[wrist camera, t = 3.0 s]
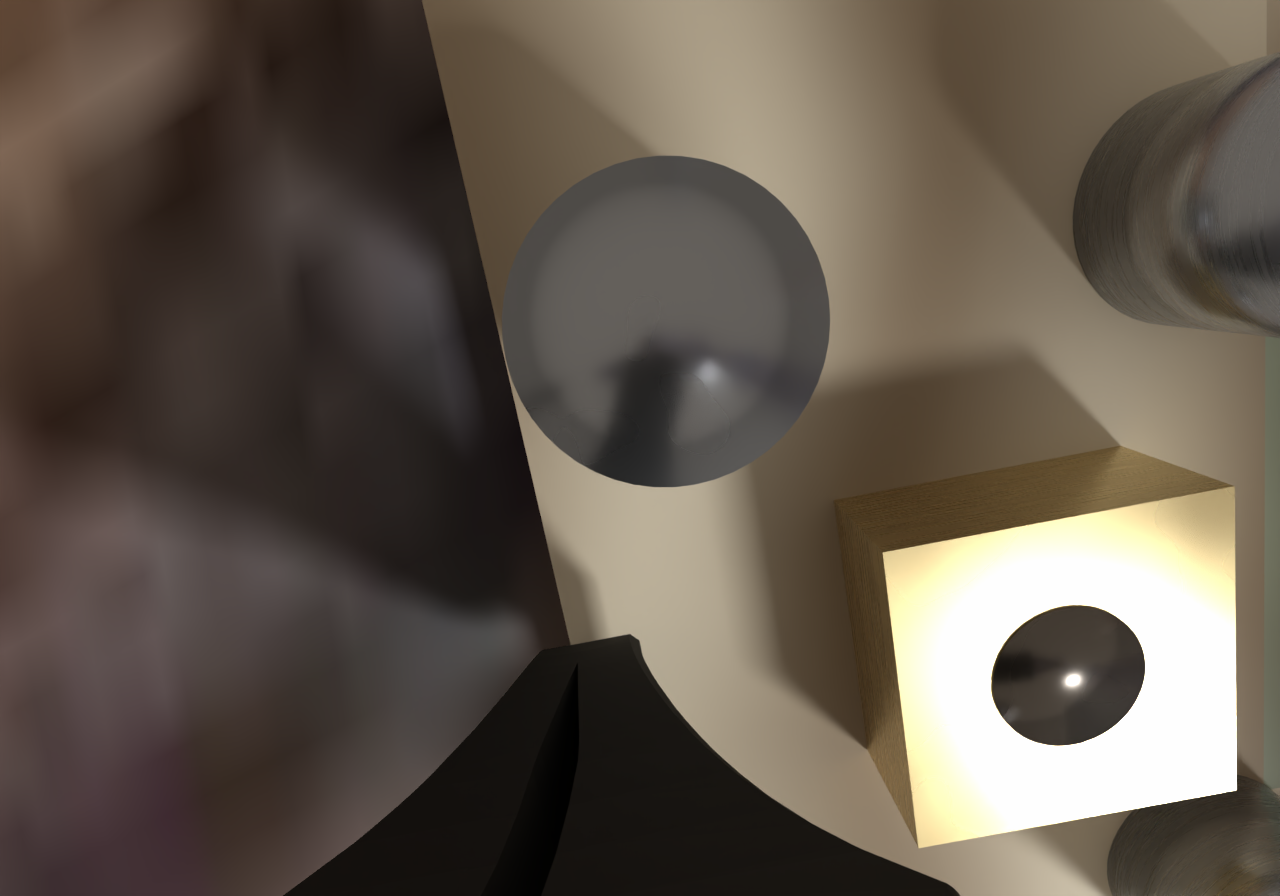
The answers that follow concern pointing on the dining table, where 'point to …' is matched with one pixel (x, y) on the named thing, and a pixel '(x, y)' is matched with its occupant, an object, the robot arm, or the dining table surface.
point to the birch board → (872, 339)
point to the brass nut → (1044, 640)
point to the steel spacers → (799, 335)
